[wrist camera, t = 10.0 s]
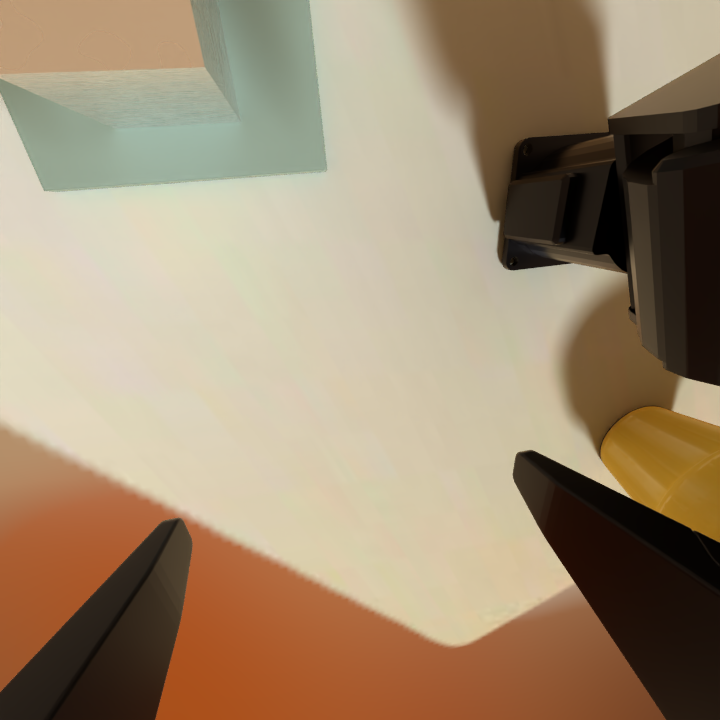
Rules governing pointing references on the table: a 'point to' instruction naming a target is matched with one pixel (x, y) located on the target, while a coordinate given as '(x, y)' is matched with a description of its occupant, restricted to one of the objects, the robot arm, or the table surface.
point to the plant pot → (668, 465)
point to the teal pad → (201, 141)
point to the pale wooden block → (122, 59)
